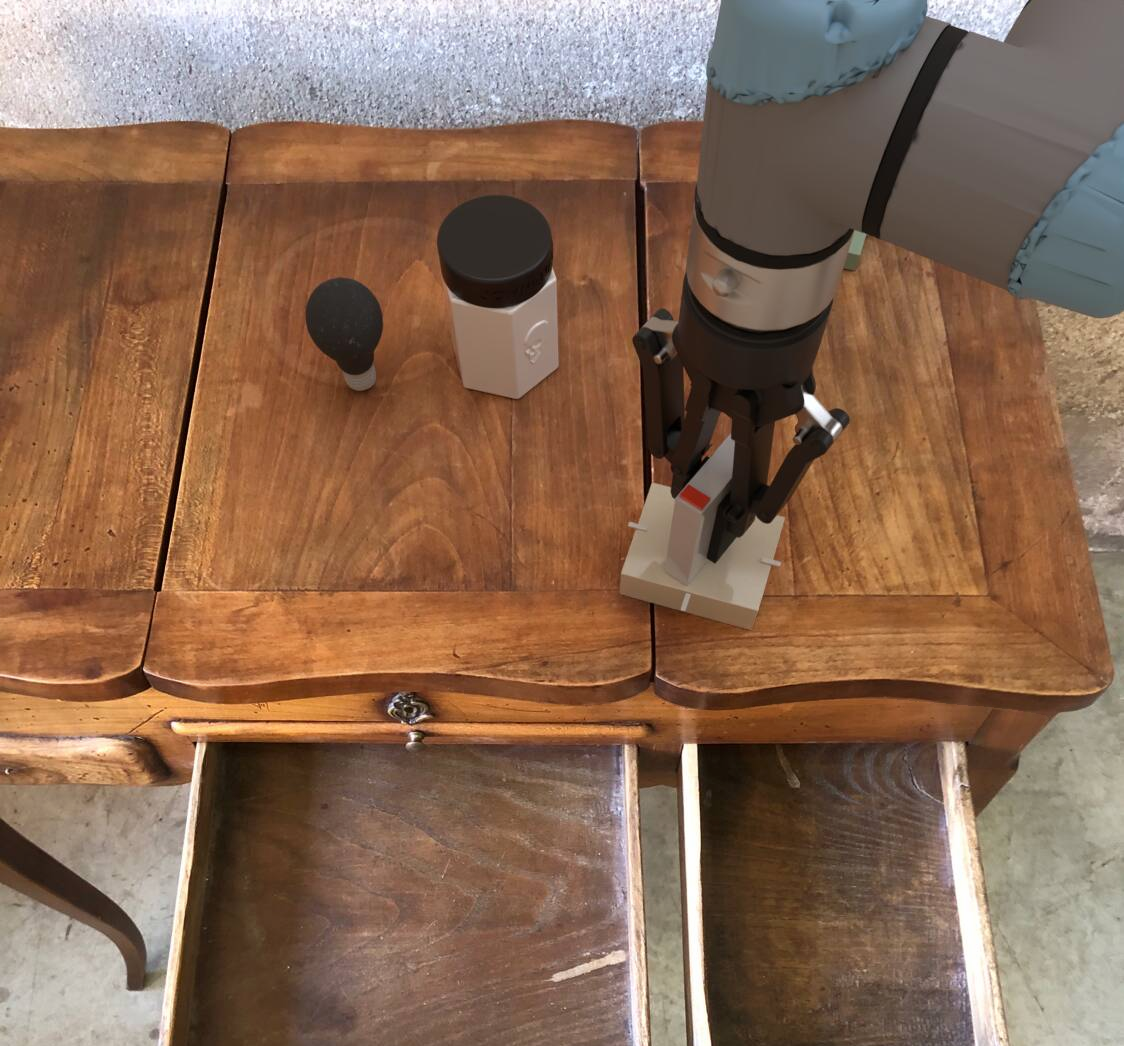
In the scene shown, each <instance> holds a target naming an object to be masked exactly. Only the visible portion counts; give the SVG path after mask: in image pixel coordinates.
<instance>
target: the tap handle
mask: <svg viewBox="0 0 1124 1046" xmlns="http://www.w3.org/2000/svg"><path fill="white" fill-rule="evenodd" d="M734 446H735V441H734V440H732V439H731V432H730V433H729V434H728V436H727V437H726V438H725V439H724V440H723V441H722V442H721V444H720V445H719V446H718V447H717V448H716V450H715V451H714V452H713V453H712V454H711V455H710V456H709V459H708V460H707V461H706V463H705V464H704V465H703V466H702V467H701V469H700V470H699V471H698V472H697V473H696V474H695V476H694V477H693V478H692V479H691V480H690V481H689V483H688V484H687V485H686V486H685V487H684V489H683V490H682V491H681V492H680V493H679V494H678V496H677V497H676V498H675V504H674V511H673V517H672V524H671V531H670V537H669V544H668V550H667V557H666V563H665V570H664V571H665V572H666V573H668V574H669V575H671V576H672V577H674V578H675V579H677V580H678V581H680V582H682V583H683V584H685V585H686V586H688V585H689V583H690V582H691V581H692V580H693V578H694V577H695V576H696V575H697V574H698V572H699V571H700V570H701V569H702V567H703V566H704V565H705V564H706V563H707V561H708V559H707V553H708V549H709V544H710V540H711V535H712V531H713V526H714V522H715V517H716V512H717V508H718V505H719V504H720V502H721V501H722V500H723V499H724V498H725V496H726V495H727V494H728V493H729V492H730V490H731V484H732V471H733V459H734Z"/></svg>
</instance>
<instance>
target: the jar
mask: <svg viewBox="0 0 1124 1046" xmlns="http://www.w3.org/2000/svg"><path fill="white" fill-rule="evenodd" d="M436 247H437V248H436V249H437V255H438V256H437V258H438V265H439V270H440V276H441V284H442V289H443V296H444V303H445V308H446V315H447V320H448V328H449V334H450V340H451V346H452V349H453V353H454V355H455V356H454V357H455V360H456V364H457V368H458V371H459V375H460V378H461V383H462V386H463V387H464V388H465V389H469V390H474V391H479V392H483V393H487V394H492V395H496V396H500V397H506V398H509V399H514V400H520V399H521V398H522V397H524V396H525V394H527V393H528V392H529V391H530V390H532V389H533V388H535V387H536V386H537V385H538V384H539V383H541V382H542V381H543V380H545V378H547V377H548V376H549V375H551V374H552V373H553V372H555V371H556V370H557V369H558V368H559V367H560V365H559V364H560V361H559V359H560V358H559V357H560V356H559V325H558V324H559V323H558V321H559V320H558V287H557V286H558V285H557V282H558V281H557V280H558V279H557V276H556V273H555V270H554V267H553V263H554V261H553V260H554V241H553V237H552V229H551V226H550V224H549V221H548V220H547V218H546V217H545V215H544V214H543V213H542V212H541V211H540V209H538V208H537V207H536V206H535V205H533V204H532V203H530V202H528V201H526V200H524V199H521V198H518V197H516V196H511V195H505V194H488V195H482V196H481V195H480V196H477V197H474V198H473V197H472V198H471V199H468V200H466V201H463V202H462V203H460V204H458V205H457V206H456V207H454V208H453V209H451V211H450V212H448V214H447V215H446V216H445V217H444V219H443V220H442V222H441V223H440V226H439V227H438V231H437V235H436Z"/></svg>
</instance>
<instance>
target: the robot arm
mask: <svg viewBox="0 0 1124 1046" xmlns="http://www.w3.org/2000/svg"><path fill="white" fill-rule="evenodd" d="M928 11H929V10H928V0H720V4H719V9H718V15H717V21H716V26H715V32H714V37H713V42H712V47H711V48H710V49H709V51H708V53H707V56H708V57H707V62H706V67H705V68H706V70H705V73H706V74H705V75H706V78H707V81H706V82H707V83H706V91H705V92H706V93H705V101H704V112H703V120H702V129H701V130H702V131H701V141H700V149H699V150H700V151H699V160H698V169H697V179H696V185H695V189H694V199H693V204H692V213H691V221H690V229H689V238H688V247H687V255H686V264H685V273H684V276H683V281H682V289H681V296H680V297H681V298H680V305H679V313H678V320H675V319H674V317H673V315H672V314H671V312H670V311H669V310H667V309H665V308H662V307H661V308H658V309H657V310H656V311H655V312H654V313H653V315H651V317H649V318H648V320H647V321H646V322H645V323H644V324H643V325H642V326H641V327H640V329H639V330H638V331H637V332H636V333H635V334H634V335H633V337H632V339H631V342H632V344H633V347H634V350H635V352H636V355H637V358H638V361H639V363H640V365H641V368H642V380H643V393H644V395H643V396H644V407H645V420H646V421H645V423H646V438H647V448H648V451H649V454H650V455H651V456H652V457H653V458H655V459H658V460H662V459H666V460H667V461H668V462H669V463H670V469H669V470H670V471H671V473H672V478H671V484H670V487H671V491H670V492H671V495H672V498H674V499H675V498H676V497H677V496H678V494H679V493H680V492H681V491H682V490H683V489H684V487H685V486H686V485H687V484H688V483H689V481H690V480H691V479H692V478H693V477H694V476H695V474H696V473H697V472H698V471H699V470H700V469H701V467H702V466H703V465H704V464H705V463H706V461H707V460H708V459H709V458H710V456H708V455H706V453H707V452H708V451H709V450H710V449H711V448H712V447H713V445H714V443H711V442H712V439H713V435H714V433H715V430H716V427H717V424H718V421H719V419H720V416H721V413H723V414H725V415H726V416H727V417H729V418H730V419H731V430H730V433H731V439H732V440H734V441H735V446H734V459H733V471H732V484H731V490H730V492H729V493H728V494H727V495H726V496H725V498H724V499H723V500H722V501H721V502H720V504H719V505H718V508H717V512H716V517H715V522H714V526H713V531H712V535H711V540H710V544H709V549H708V553H707V559H708V560H710V561H712V562H713V563H715V564H716V562H717V561H718V560H719V559H720V557H721V556H722V555H723V554H724V552H725V551H726V550H727V549H728V547H729V546H730V545H731V544H732V542H733V541H734V540H735V539H736V537H738V538H740V537H741V536H743V535H744V533H745V532H746V531H747V530H748V528H749V527H750V526H751V525H752V523H753V522H754V521H755V516H757V518H758V519H759V520H760V521H761V522H763V523H766V524H770V523H771V522H772V521H773V520H774V518H775V517H776V516H777V515H779V514H780V512H781V511H782V509H784V507H785V506H786V505H787V503H788V502H789V501H790V499H791V498H792V497H793V496H794V494H795V492H796V490H797V489H798V488H799V486H800V484H801V482H802V480H803V479H804V477H805V476H806V474H807V473H808V471H809V470H810V467H811V466H812V464H813V462H814V460H816V459H818V458H820V457H822V456H824V455H825V454H826V453H827V452H828V451H829V450H830V448H831V447H832V446H833V444H834V443H835V442H836V441H837V440H838V438H839V437H840V436H841V435H842V433H843V432H844V430H845V429H846V428H847V426H848V425H849V424H850V423H851V418H850V416H849V414H848V413H847V412H846V411H845V409H842V408H838V407H835V408H832V409H831V410H827V409H826V407H824V405H823V404H822V403H821V402H820V401H819V400H818V399H817V398H816V397H815V395H814V394H815V392H816V388H817V383H816V378H815V375H814V365H815V361H816V358H817V356H818V353H819V350H820V347H821V343H822V341H823V337H824V333H825V330H826V327H827V324H828V320H829V317H830V314H831V310H832V308H833V303H834V298H835V296H836V294H837V291H838V288H839V285H840V281H841V278H842V274H843V271H844V265H845V261H846V258H847V254H848V251H849V248H850V244H851V241H852V237H853V234H854V231H855V230H856V231H859V232H861V233H865V234H866V235H868V236H871V237H873V238H876V239H878V240H881V241H884V242H886V243H889V244H891V245H894V246H896V247H898V248H900V249H901V248H902V249H903V250H906V251H908V252H911V253H912V254H913V253H914V254H916V255H918V256H920V257H923V258H926V259H928V260H930V261H932V262H936V263H939V264H941V265H943V266H944V267H945V266H946V267H948V268H950V269H954V270H956V271H958V272H960V273H963V274H966V276H967V275H968V276H970V277H972V278H975V279H978V280H980V281H982V282H985V283H987V284H990V285H992V286H994V287H997V288H1000V289H1002V290H1005V291H1007V292H1008V293H1009V295H1010V296H1014V297H1016V298H1018V299H1019V300H1027V299H1032V300H1034V301H1038V302H1042V303H1044V304H1048V305H1052V306H1055V307H1057V308H1061V309H1063V310H1068V311H1070V312H1073V313H1077V314H1080V315H1084V316H1087V317H1090V318H1093V319H1108V318H1113V317H1114V316H1118V315H1120V314H1122V313H1123V312H1124V0H1027V2H1026V3H1025V4H1024V6H1023V7H1022V9H1021V11H1020V12H1019V14H1018V15H1017V17H1016V19H1015V20H1014V22H1013V24H1012V26H1011V28H1010V29H1009V30H1008V33H1007V34H1006V36H1005V37H1004V40H1003V41H1001V40H998V39H996V38H992V37H989V36H986V35H983V34H980V33H977V32H974V31H970V30H968V29H965V28H964V29H963V28H961V27H958V26H954V25H952V24H951V23H949V22H946V21H943V20H940V19H938V18H934V17H931V16H927V14H928ZM685 372H686V375H687V377H688V379H689V381H690V391H689V394H688V397H687V400H686V403H685V375H684V373H685ZM685 413H686V414H685ZM794 415H795V417H796V418H797V423H796V425H795V426H794V432H795V434H794V436H793V437H792V442H793V443H794V445H793V446H792V447H791V449H790V450H789V451H788V453H787V454H786V456H785V457H784V459H783V461H782V463H781V465H780V466H779V468H778V470H777V472H776V474H775V476H774V477H773V479H772V481H771V483H770V484H769V485H768V480H769V474H770V473H769V472H770V466H771V465H770V464H771V457H772V456H771V455H772V449H773V443H774V442H773V441H774V434H775V427H776V426H775V425H776V422H777V421H780V420H783V419H786V418H789V417H791V416H794ZM704 456H705V457H704ZM703 457H704V458H703Z"/></svg>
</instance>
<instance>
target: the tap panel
mask: <svg viewBox="0 0 1124 1046" xmlns="http://www.w3.org/2000/svg"><path fill="white" fill-rule="evenodd" d="M670 491H671V486H668V485H664V484H660V483H656V482H651V484H650V487H649V489H648V492H647V496H646V498H645V502H644V505H643V507H642V510H641V514H640V516H639V519H638V521H637V523H636V522H633V521H628V525H627V527H628V528H631V529H635V530H634V533H633V537H632V539H631V542H630V545H629V547H628V551H627V554H626V556H625V560H624V563H623V566H622V569H621V571H620V579H619V591H618V593H619V595H622V596H625V597H629V598H633V599H636V600H640V601H642V602H647V603H649V604H650V603H651V604H655V605H658V606H661V607H665V608H668V609H671V610H676V611H680V612H683V613H687V614H691V615H693V616H698V617H702V618H704V619H708V620H712V621H716V622H718V623H719V622H720V623H724V624H727V625H730V626H734V627H737V628H741V629H746V630H748V631H752V630H753V628H754V625H755V623H756V619H757V616H758V613H759V610H760V607H761V603H762V601H763V600H762V599H763V596H764V593H765V589H766V586H767V582H768V579H769V576H770V573H771V569H772V566H774V567H777V568H781V565H782V561H779V560H775V559H774V558H775V555H776V551H777V548H778V544H779V542H780V538H781V534H782V530H783V527H784V524H785V520H786V517H785V516H783V515H782V516H781V515H779V514H777V516H776V517H775V518H774V520H773V521H772V522H771V523H770V524H766V523H763V522H761V521H760V520H759V519H758V518H757V516H755V521H754V522H753V523H752V525H751V526H750V527H749V528H748V530H747V531H746V532H745V533H744V535H743V536H741V537H740V538H738V537H736V539H735V540H734V541H733V542H732V544H731V545H730V546H729V547H728V549H727V550H726V551H725V552H724V554H723V555H722V556H721V557H720V559H719V560H718V561H717V562H716V564H715V563H713V562H712V561H710V560H708V561H707V563H706V564H705V565H704V566H703V567H702V569H701V570H700V571H699V572H698V574H697V575H696V576H695V577H694V578H693V580H692V581H691V582H690V583H689V585H688V586H686V585H685V584H683V583H682V582H680V581H678V580H677V579H675V578H674V577H672V576H671V575H669V574H668V573H666V572H665V571H664V570H665V563H666V557H667V550H668V544H669V537H670V531H671V524H672V517H673V511H674V504H675V499H674V498H672V495H671V492H670Z"/></svg>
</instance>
